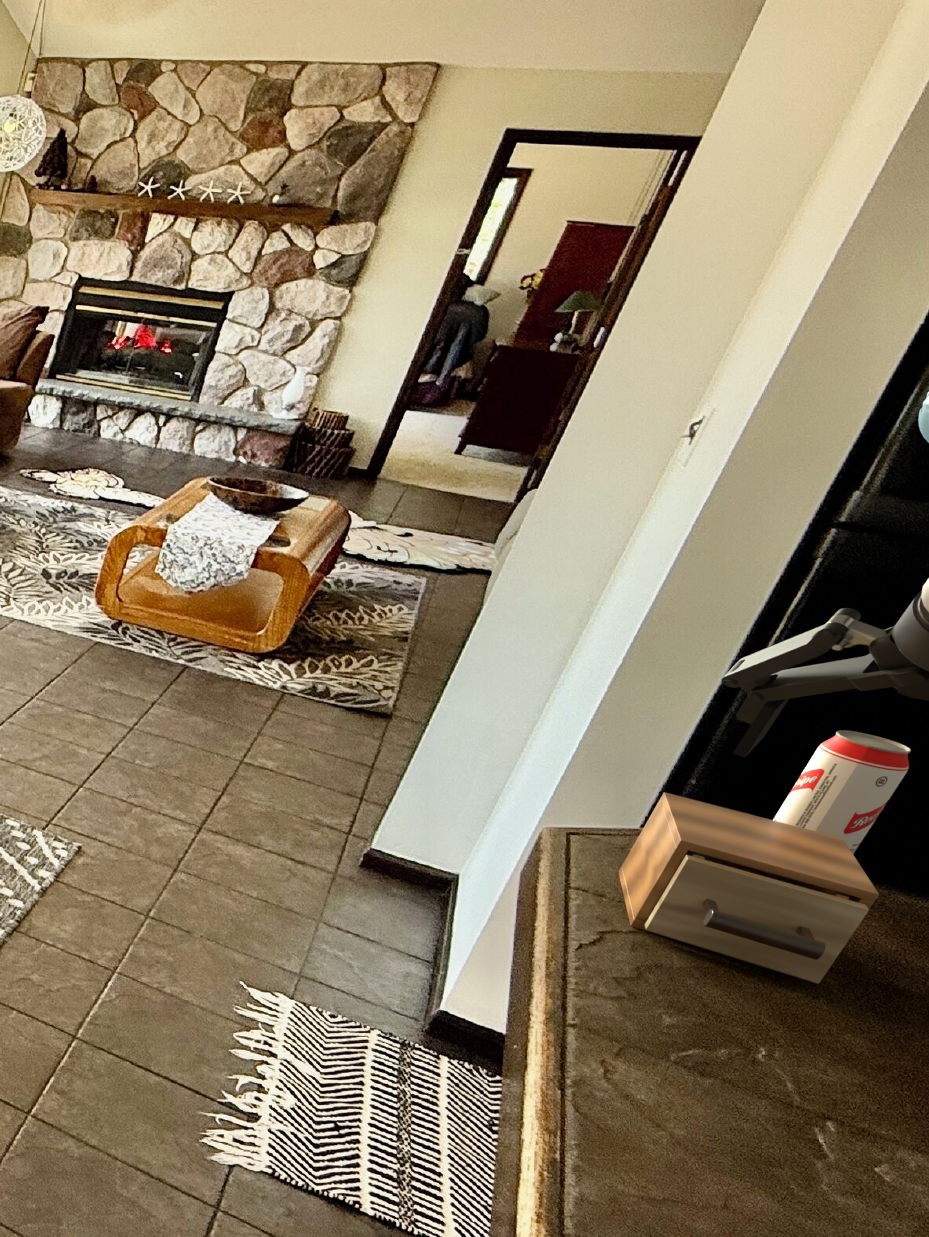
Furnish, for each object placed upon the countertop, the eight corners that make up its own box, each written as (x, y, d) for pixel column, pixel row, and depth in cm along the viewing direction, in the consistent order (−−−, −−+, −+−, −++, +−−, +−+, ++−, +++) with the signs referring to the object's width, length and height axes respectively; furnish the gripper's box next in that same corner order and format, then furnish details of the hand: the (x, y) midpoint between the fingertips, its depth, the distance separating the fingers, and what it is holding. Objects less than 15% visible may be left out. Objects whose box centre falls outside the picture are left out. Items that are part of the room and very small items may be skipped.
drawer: (830, 1008, 100) (883, 932, 97) (650, 951, 107) (694, 878, 104) (790, 925, 114) (836, 855, 110) (632, 878, 120) (671, 812, 117)
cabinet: (818, 984, 105) (879, 894, 102) (630, 926, 113) (680, 839, 109) (788, 922, 116) (843, 838, 112) (618, 872, 123) (663, 791, 119)
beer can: (835, 881, 125) (923, 747, 119) (825, 896, 122) (915, 758, 115) (753, 854, 130) (833, 723, 123) (741, 868, 126) (823, 734, 120)
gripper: (725, 574, 88) (635, 741, 102) (1277, 731, 70) (1073, 907, 84) (785, 512, 89) (688, 686, 103) (1344, 651, 71) (1131, 839, 85)
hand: (861, 786), depth 94 cm, fingers open, 13 cm apart
